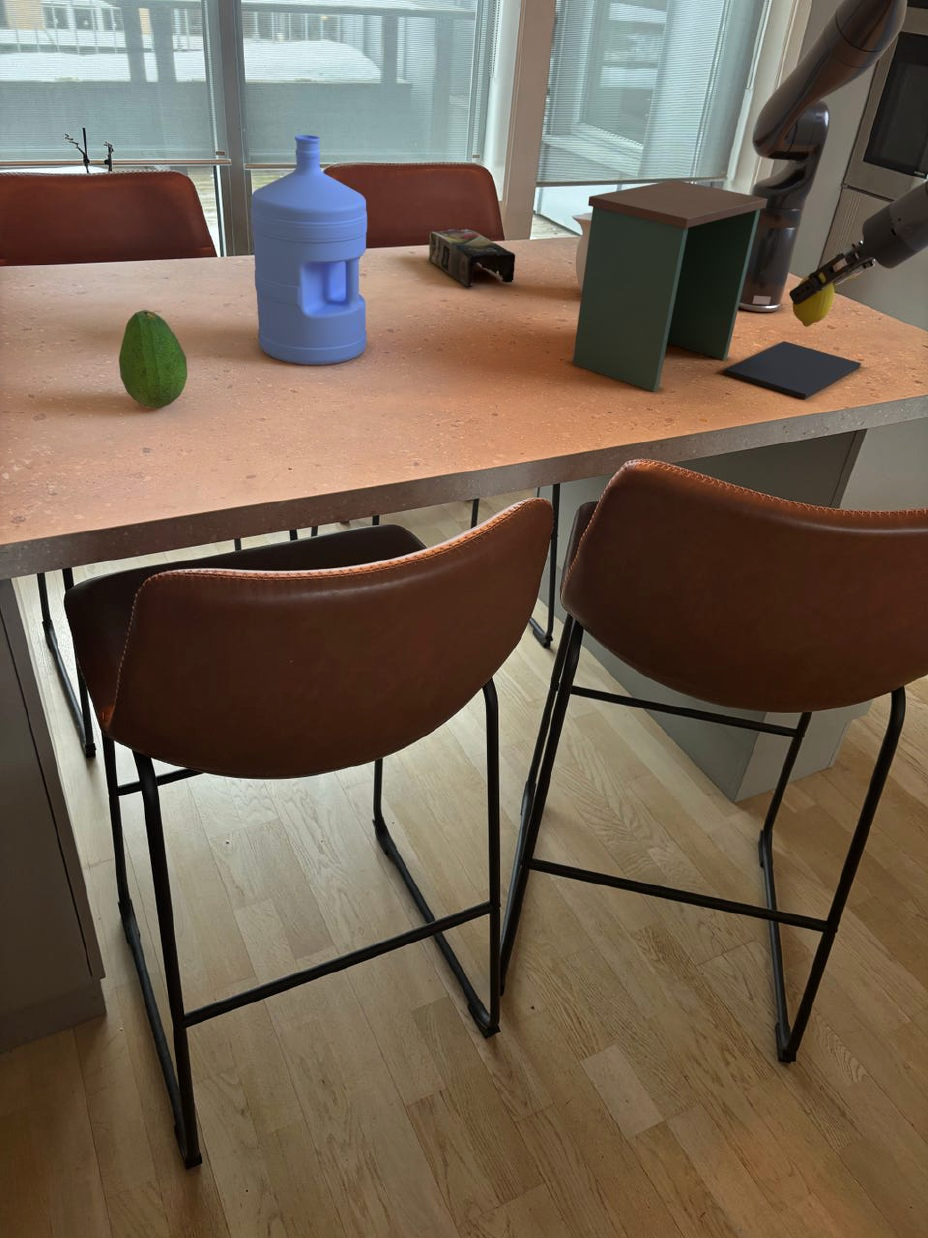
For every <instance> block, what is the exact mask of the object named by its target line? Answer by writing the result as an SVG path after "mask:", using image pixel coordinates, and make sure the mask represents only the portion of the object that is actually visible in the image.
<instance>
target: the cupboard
mask: <svg viewBox="0 0 928 1238" xmlns="http://www.w3.org/2000/svg"><path fill="white" fill-rule="evenodd" d="M766 204H767V199H766V198H761V197H756V196H751V194H746V193H742V192H737V191H731V190H726V189H721V188H718V187H712V186H707V185H703V184H697V183H692V182H688V181H682V180H677V179H673V180H667V181H662V182H658V183H651V184H647V185H641V186H636V187H632V188H626V189H621V190H615V191H610V192H604V193H599V194H595V195H591V196H589V197H588V203H587V206H588V207H592V212H591V213H592V218H591V226H590V234H589V241H588V249H587V257H586V264H585V272H584V280H583V287H582V291H581V295H580V296H581V298H580V303H579V310H578V311H579V312H578V317H577V318H578V319H577V327H576V333H575V342H574V350H573V357H572V365H573V366H574V365H575V366H577V367H581V368H583V369H586V370H589V371H592V372H594V373H598V374H601V375H603V376H605V377H610V378H612V379H615V380H618V381H621V382H624V383H627V384H630V385H633V386H635V387H639V388H641V389H645V390H647V391H650V392H653V393H655V392H656V391H659V388H660V383H661V377H662V371H663V366H664V360H665V355H666V351H667V345H668V344H669V345H672V346H677V347H680V348H682V349H685V350H688V351H692V352H695V353H699V354H702V355H705V356H708V357H712V358H714V359H718V360H721V361H724V360H727V359H728V356H729V350H730V347H731V342H732V337H733V333H734V329H735V325H736V320H737V315H738V310H739V308H738V307H739V302H740V298H741V294H742V289H743V285H744V280H745V276H746V271H747V267H748V262H749V258H750V254H751V249H752V245H753V240H754V236H755V231H756V227H757V223H758V218H759V214H760V209H762V208H765V207H766Z"/></svg>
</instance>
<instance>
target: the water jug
mask: <svg viewBox="0 0 928 1238" xmlns="http://www.w3.org/2000/svg"><path fill="white" fill-rule="evenodd" d="M294 140H295V142H296V149H295V157H296V159H295V160H296V165H295V169H294V170H293V171H291V172H290V173H288V174H285V175H284V176H282V177H280V178H277V179H276V180H273V181H271V182H269V183H268V184H266V185H263V186H262V187H260V188H259V187H258V188H257V189H255V190H254V191H253V192H252V194H251V197H250V199H251V200H250V202H251V203H250V204H251V207H250V223H251V228H252V236H253V252H254V253H253V255H254V285H255V286H254V287H255V290H256V302H257V304H256V305H257V321H258V329H257V337H258V338H257V339H258V345H259V347H260V349H261V350H262V351H263V352H264V353H265V354H266V355H268V356H269V357H271V358H274V359H277V360H279V361H283V362H285V363H290V364H295V365H296V364H297V365H309V366H320V365H321V366H322V365H324V366H325V365H333V364H334V365H335V364H340V363H344V362H348V361H350V360H353V359H355V358H357V357H359V356H360V355H361V354H362V353H364V351H365V349H366V348H367V344H368V343H367V342H368V341H367V338H368V337H367V335H368V334H367V330H366V329H367V328H366V324H367V323H366V321H367V319H366V317H367V315H366V314H367V313H366V311H367V309H366V308H367V307H366V306H367V302H366V299H365V297H364V296H363V295H361V294H360V259H361V257H362V256H363V255H364V254H365V252H366V251H367V231H368V213H367V201H366V198H365V196H363V194H361V193H360V192H358V191H356V190H354V189H353V188H351V187H349V186H347V185H346V184H344V183H342V182H340V181H338V180H337V179H335V178H333V177H331V176H330V175H327V174H326V173H324V172H323V171H322V169H321V166H320V162H321V161H320V157H321V151H320V149H319V143H320V141H321V138H320V137H319V136H317V135H308V134H300V135H295V136H294Z"/></svg>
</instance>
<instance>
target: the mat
mask: <svg viewBox="0 0 928 1238" xmlns="http://www.w3.org/2000/svg"><path fill="white" fill-rule="evenodd" d="M861 365H862V363H861V362H859V361H856V360H853V359H852V360H851V359H849V358H845V357H842V356H838V355H835V354H831V353H827V352H823V351H820V350H818V349H817V350H816V349H813V348H810V347H806V346H803V345H800V344H795V343H793V342H789V341H785V340H783V341H781V342H779V343H777V344H775V345H773V346H771V347H768V348H766V349H764V350H762V351H759V352H758V353H756V354H754V355H752V356H749V357H747V358H745V359H743V360H741V361H739V362H737V363H735V364H733V365H730V366H728V367H726V368H724V370H723V375H726V376H729V377H732V378H735V379H738V380H742V381H745V382H748V383H750V384H754V385H757V386H761V387H764V388H767V389H770V390H773V391H776V392H779V393H783V394H786V395H789V396H792V397H795V398H798V399H801V400H807V399H809V398H810V397H812V396H814V395H816V394H817V393H819V392H820V391H822V390H824V389H826V388H827V387H829V386H831V385H833V384H835V383H836V382H838V381H840V380H841V379H843V378H845V377H846V376H848V375H850V374H852V373H854V372H856V370H858V369H860V368H861Z"/></svg>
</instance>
